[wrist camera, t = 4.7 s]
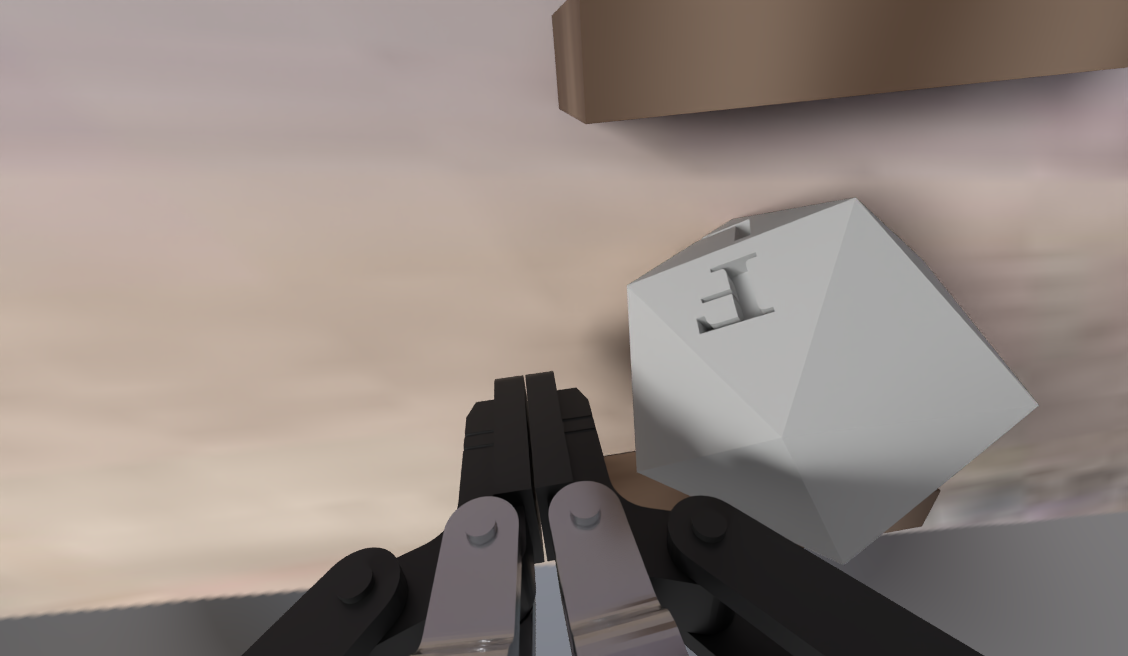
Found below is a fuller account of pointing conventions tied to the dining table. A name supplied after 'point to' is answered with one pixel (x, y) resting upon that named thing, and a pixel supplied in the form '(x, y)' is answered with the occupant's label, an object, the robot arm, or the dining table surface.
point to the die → (811, 375)
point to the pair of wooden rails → (808, 73)
